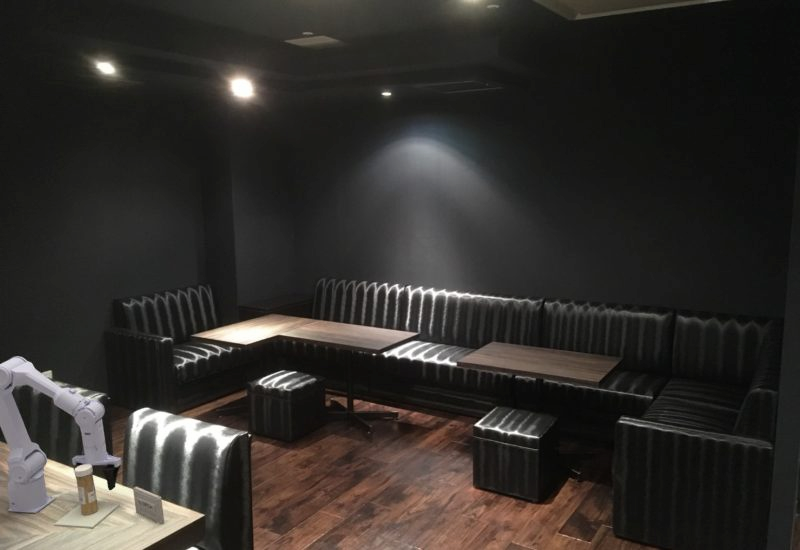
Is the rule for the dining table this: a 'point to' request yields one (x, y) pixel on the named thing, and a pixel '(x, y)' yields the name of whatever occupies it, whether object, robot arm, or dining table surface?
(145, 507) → the cassette
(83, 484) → the sprinkles bottle
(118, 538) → the dining table surface
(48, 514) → the dining table surface
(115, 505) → the sage mat
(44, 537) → the dining table surface
